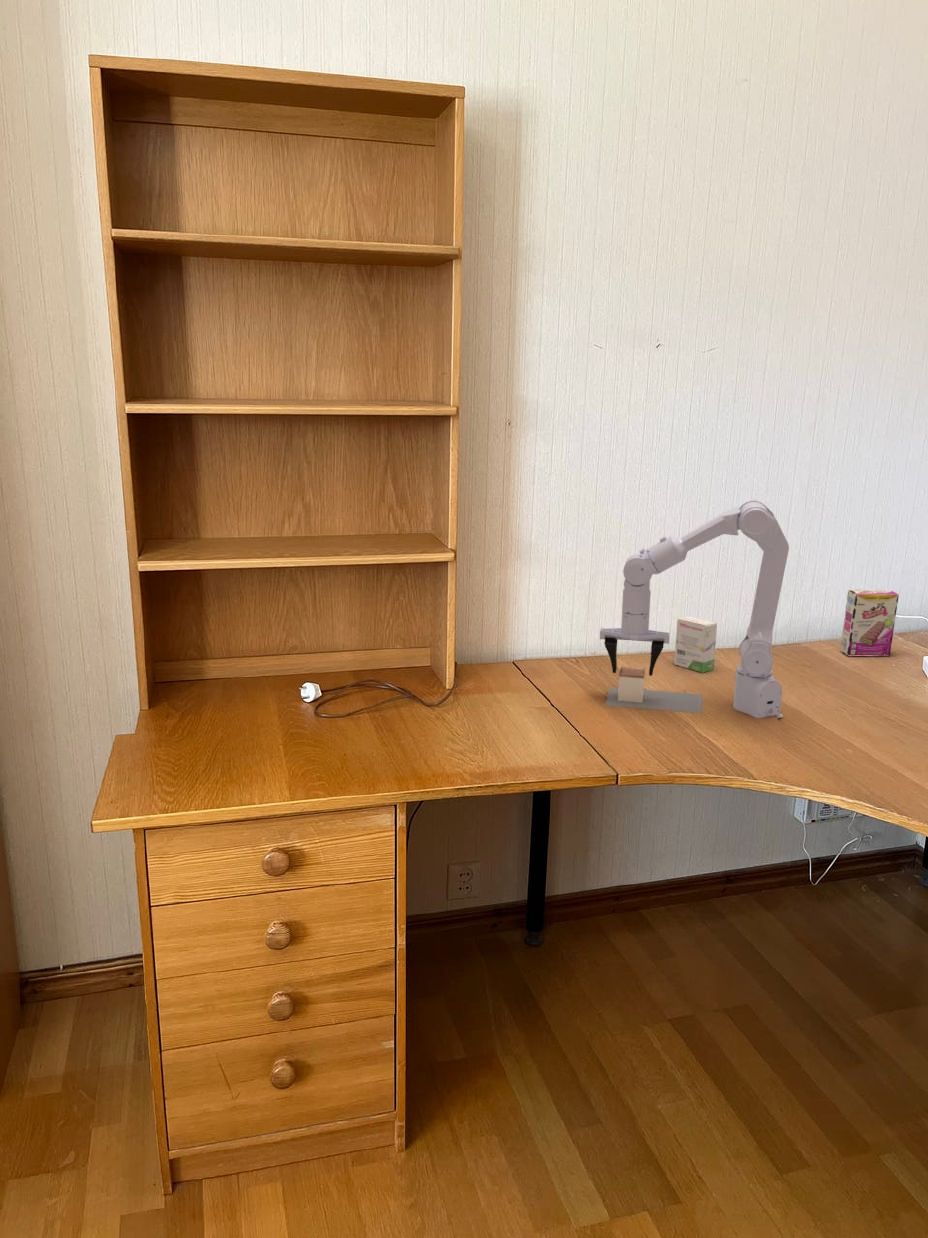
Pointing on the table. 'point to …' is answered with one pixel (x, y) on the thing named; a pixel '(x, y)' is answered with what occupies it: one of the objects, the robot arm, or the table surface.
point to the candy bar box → (869, 622)
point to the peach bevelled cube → (631, 684)
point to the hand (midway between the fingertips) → (632, 672)
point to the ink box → (695, 644)
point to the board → (660, 701)
